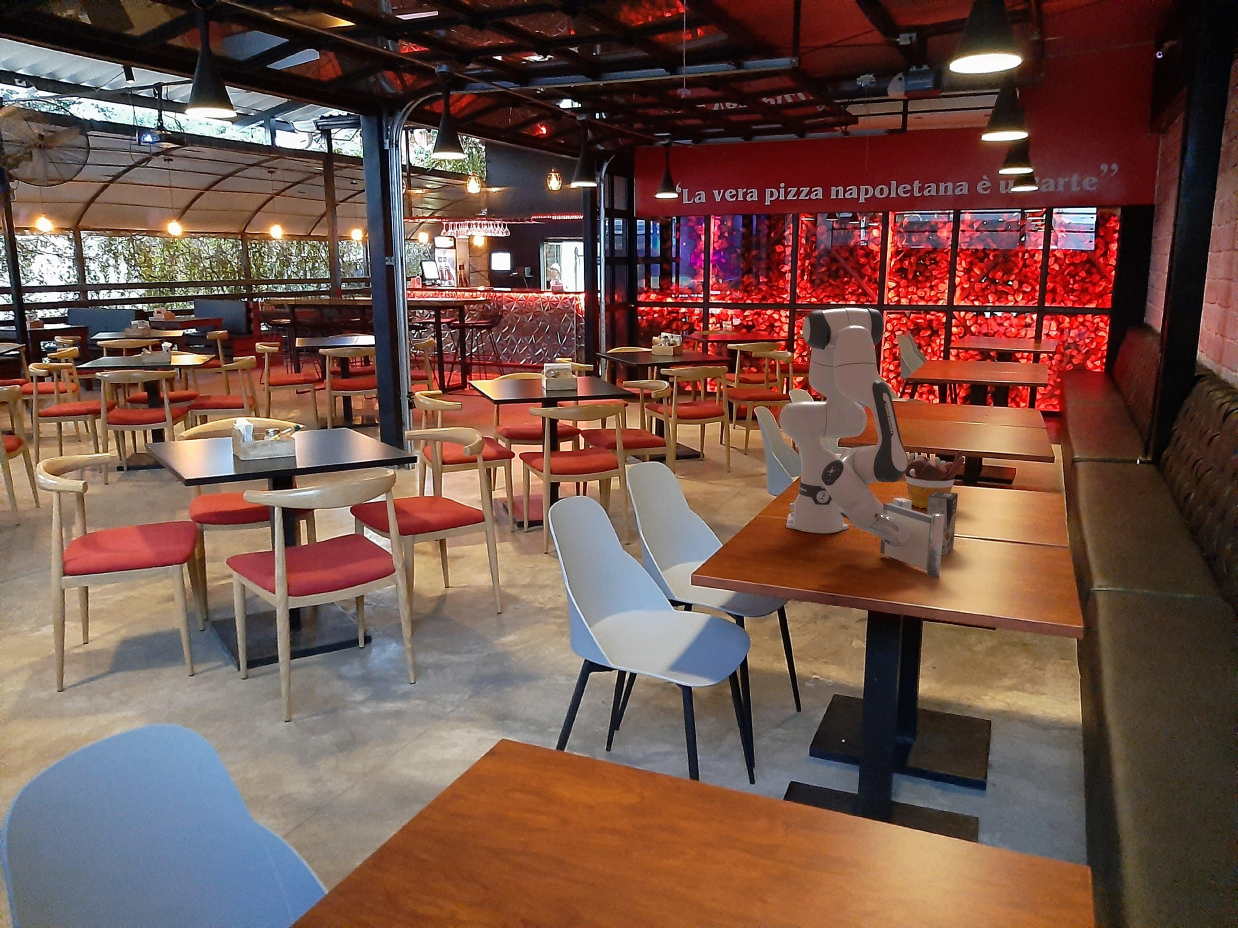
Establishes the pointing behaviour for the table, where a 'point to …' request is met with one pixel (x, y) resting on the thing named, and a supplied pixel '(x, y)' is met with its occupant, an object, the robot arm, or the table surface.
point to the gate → (919, 536)
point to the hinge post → (935, 545)
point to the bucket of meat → (930, 477)
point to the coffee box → (947, 507)
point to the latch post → (902, 503)
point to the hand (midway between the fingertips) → (893, 543)
